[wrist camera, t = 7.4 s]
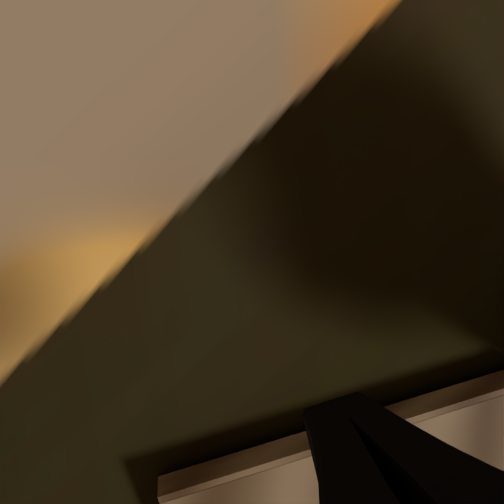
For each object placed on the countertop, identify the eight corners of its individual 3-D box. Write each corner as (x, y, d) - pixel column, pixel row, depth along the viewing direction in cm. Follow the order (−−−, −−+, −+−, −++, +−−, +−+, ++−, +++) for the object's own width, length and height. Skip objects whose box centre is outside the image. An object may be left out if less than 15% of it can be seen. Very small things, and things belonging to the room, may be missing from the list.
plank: (520, 364, 21) (540, 377, 20) (524, 495, 23) (542, 513, 22) (158, 476, 19) (157, 497, 18) (202, 607, 21) (204, 634, 20)
